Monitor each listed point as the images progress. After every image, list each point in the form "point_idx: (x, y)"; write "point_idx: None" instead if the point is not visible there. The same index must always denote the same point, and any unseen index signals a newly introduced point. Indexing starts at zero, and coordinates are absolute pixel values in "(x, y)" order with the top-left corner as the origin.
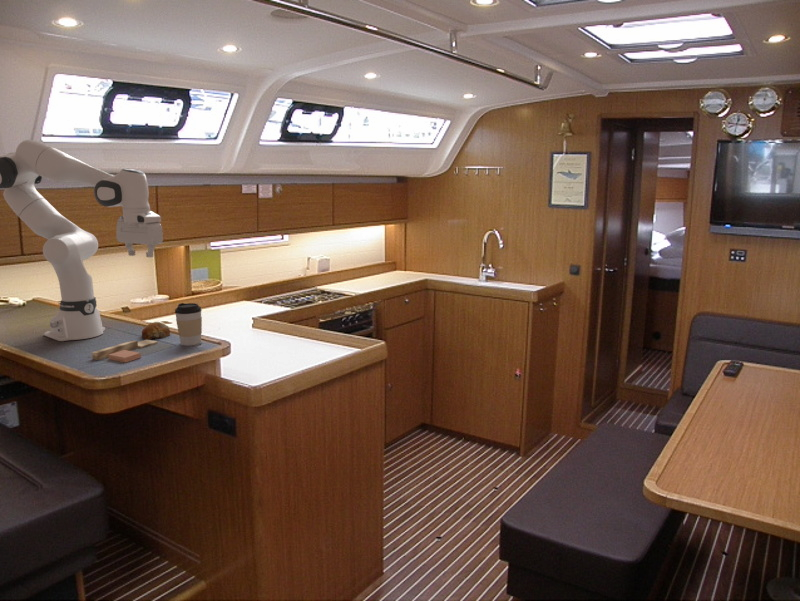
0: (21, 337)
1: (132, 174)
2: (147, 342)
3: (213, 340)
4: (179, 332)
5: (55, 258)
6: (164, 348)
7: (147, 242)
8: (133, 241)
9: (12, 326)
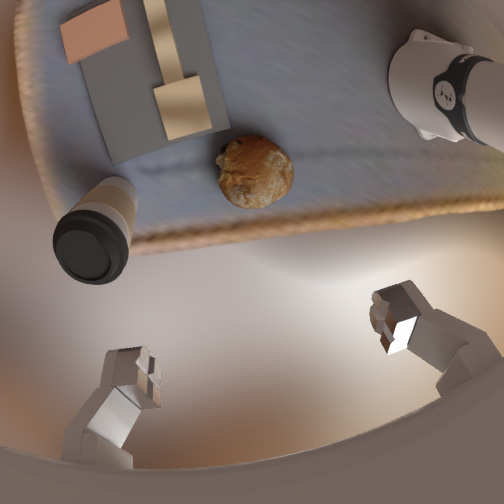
0: (483, 32)
1: None
2: (180, 116)
3: None
4: (100, 188)
5: None
6: (107, 133)
7: (42, 477)
8: (335, 469)
9: None
